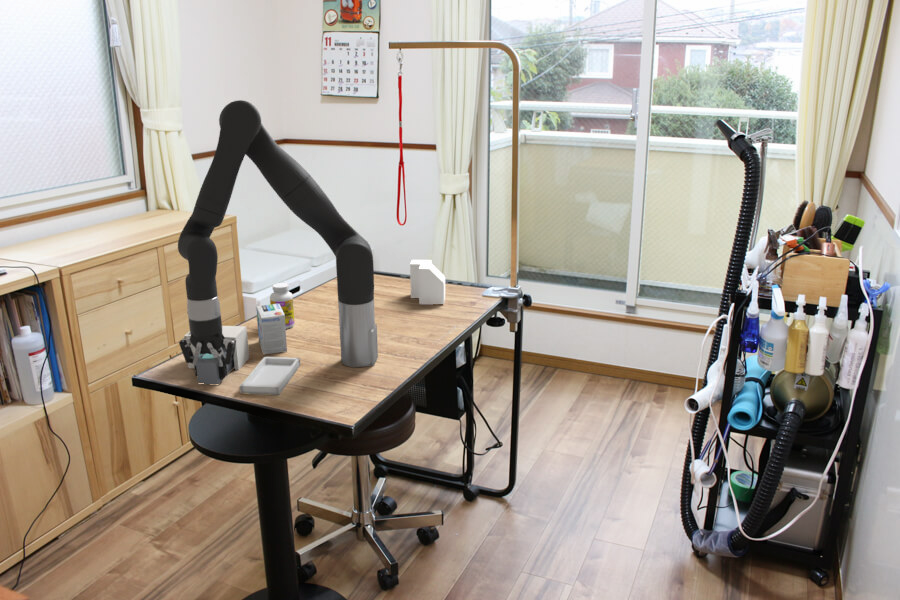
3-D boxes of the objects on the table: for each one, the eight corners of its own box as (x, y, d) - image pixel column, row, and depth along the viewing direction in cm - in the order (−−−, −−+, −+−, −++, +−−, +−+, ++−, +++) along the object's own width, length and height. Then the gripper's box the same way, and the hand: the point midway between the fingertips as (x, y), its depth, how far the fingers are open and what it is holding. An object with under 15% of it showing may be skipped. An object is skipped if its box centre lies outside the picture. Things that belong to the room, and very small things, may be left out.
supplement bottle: (274, 331, 218) (271, 289, 214) (270, 324, 224) (266, 283, 220) (297, 328, 221) (294, 286, 217) (292, 320, 227) (289, 280, 223)
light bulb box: (258, 341, 211) (255, 305, 207) (282, 338, 213) (279, 302, 210) (263, 355, 201) (259, 317, 198) (288, 351, 204) (285, 314, 200)
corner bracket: (412, 293, 252) (411, 259, 248) (445, 294, 251) (445, 260, 247) (409, 304, 242) (408, 268, 238) (443, 304, 241) (443, 269, 237)
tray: (300, 364, 195) (299, 357, 194) (279, 395, 178) (278, 387, 177) (265, 363, 196) (264, 356, 195) (240, 393, 179) (239, 385, 178)
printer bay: (249, 357, 200) (246, 325, 197) (238, 369, 192) (235, 336, 189) (200, 356, 201) (197, 324, 198) (188, 367, 193) (184, 334, 190)
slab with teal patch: (237, 364, 196) (234, 342, 194) (217, 385, 183) (215, 362, 181) (218, 363, 196) (216, 341, 194) (198, 384, 184) (195, 361, 182)
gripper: (238, 309, 183) (244, 373, 189) (182, 308, 184) (190, 371, 190) (227, 320, 176) (233, 385, 181) (169, 318, 177) (177, 383, 183)
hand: (211, 377), depth 186 cm, fingers closed on slab with teal patch, 5 cm apart
